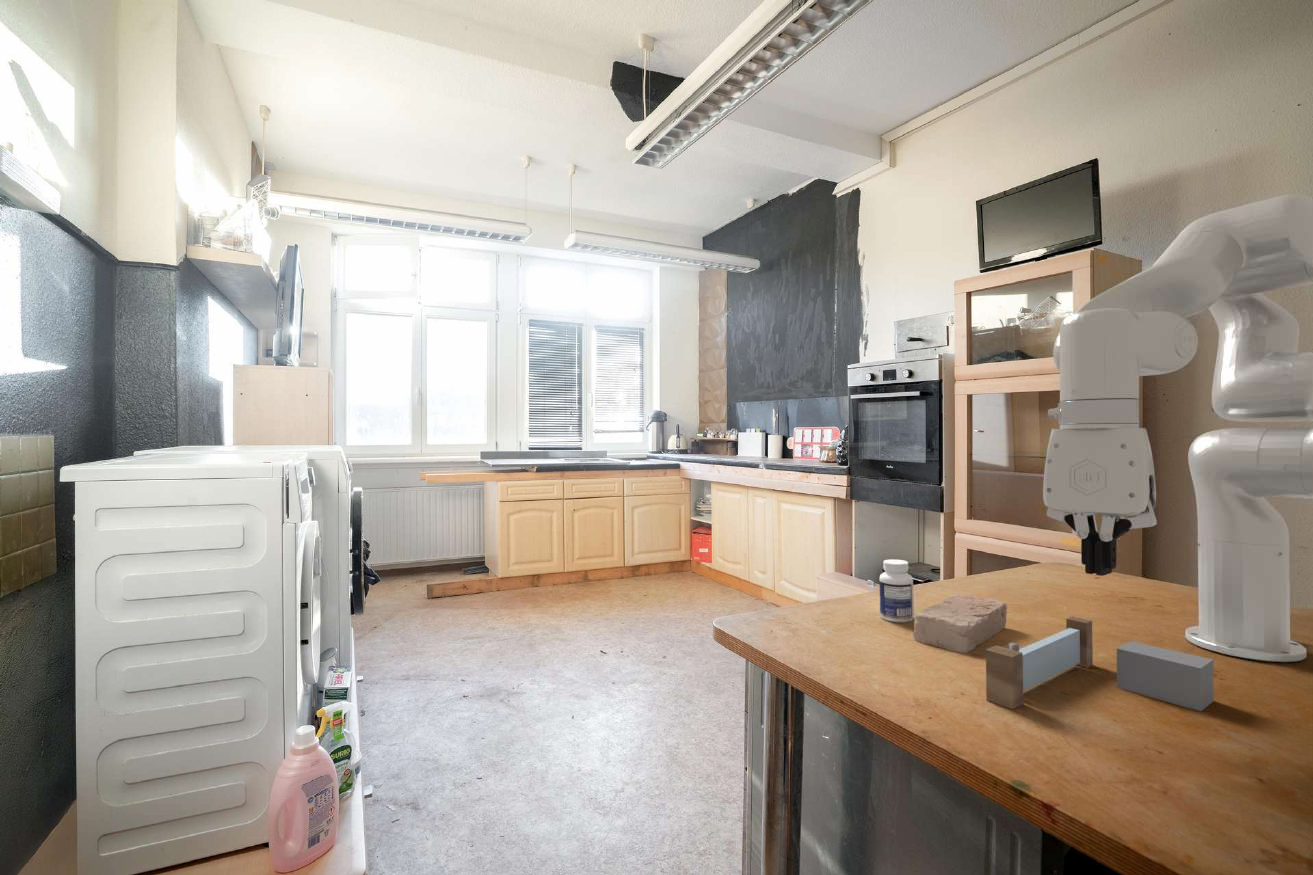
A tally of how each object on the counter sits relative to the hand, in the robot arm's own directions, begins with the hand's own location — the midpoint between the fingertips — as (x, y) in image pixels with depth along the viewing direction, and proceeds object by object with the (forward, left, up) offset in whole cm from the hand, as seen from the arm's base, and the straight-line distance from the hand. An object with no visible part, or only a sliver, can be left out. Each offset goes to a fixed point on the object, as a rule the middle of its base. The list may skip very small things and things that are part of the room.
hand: (1098, 572), depth 72 cm
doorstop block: (-8, +4, -15) cm, 18 cm away
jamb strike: (-11, -6, -15) cm, 20 cm away
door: (-1, -7, -15) cm, 16 cm away
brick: (-10, -23, -16) cm, 29 cm away
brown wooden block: (+9, -6, -15) cm, 19 cm away
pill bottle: (-9, -33, -15) cm, 38 cm away
